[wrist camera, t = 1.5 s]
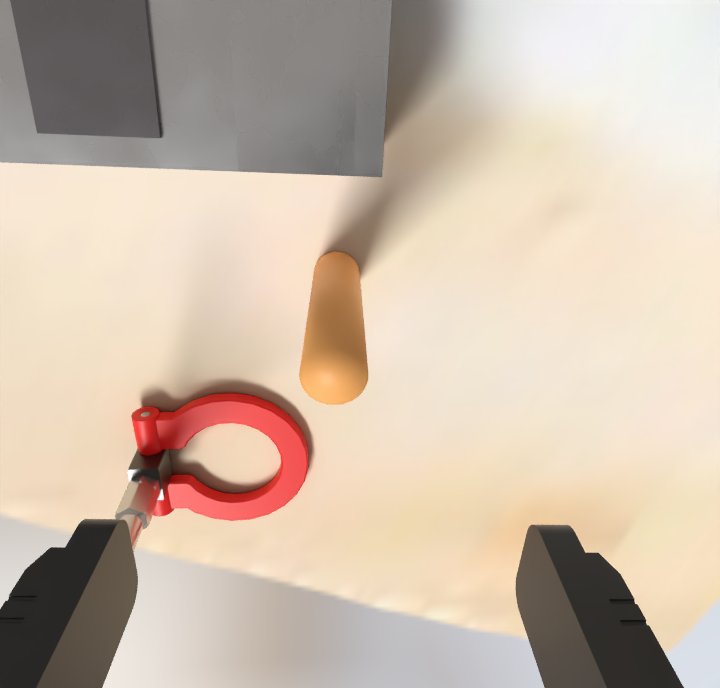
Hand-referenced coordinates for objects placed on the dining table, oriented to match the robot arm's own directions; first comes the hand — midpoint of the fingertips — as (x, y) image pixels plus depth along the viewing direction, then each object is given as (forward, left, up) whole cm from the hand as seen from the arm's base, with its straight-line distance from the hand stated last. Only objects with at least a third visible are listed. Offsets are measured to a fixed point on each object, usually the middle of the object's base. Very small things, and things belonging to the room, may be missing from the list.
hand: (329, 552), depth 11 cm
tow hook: (+6, +11, -18) cm, 22 cm away
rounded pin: (0, 0, -17) cm, 17 cm away
